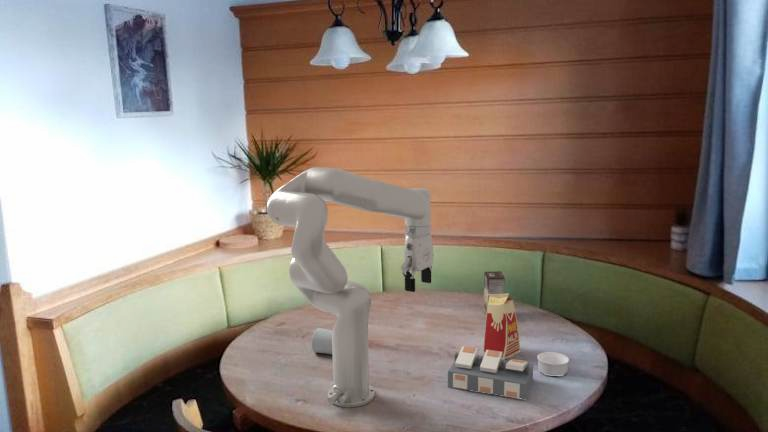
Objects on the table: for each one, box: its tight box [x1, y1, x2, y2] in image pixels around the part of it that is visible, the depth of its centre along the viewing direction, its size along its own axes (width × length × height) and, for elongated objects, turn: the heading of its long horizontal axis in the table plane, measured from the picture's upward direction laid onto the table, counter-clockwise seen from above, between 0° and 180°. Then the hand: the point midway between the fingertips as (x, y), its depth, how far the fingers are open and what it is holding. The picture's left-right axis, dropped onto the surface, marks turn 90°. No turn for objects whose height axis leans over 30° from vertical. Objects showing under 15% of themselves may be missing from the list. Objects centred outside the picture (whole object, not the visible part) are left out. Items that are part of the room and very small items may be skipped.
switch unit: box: [447, 352, 534, 399], centre depth 160 cm, size 13×21×7 cm, turn 67°
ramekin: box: [536, 351, 570, 375], centre depth 167 cm, size 9×9×4 cm
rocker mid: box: [480, 350, 502, 373], centre depth 159 cm, size 8×4×1 cm, turn 156°
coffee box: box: [483, 270, 506, 317], centre depth 212 cm, size 9×6×16 cm
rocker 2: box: [506, 358, 528, 371], centre depth 157 cm, size 8×4×1 cm, turn 157°
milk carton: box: [482, 292, 521, 360], centre depth 179 cm, size 9×9×20 cm
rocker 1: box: [454, 345, 479, 369], centre depth 162 cm, size 8×4×1 cm, turn 157°
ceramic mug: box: [311, 327, 333, 355], centre depth 184 cm, size 11×8×8 cm
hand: (418, 286), depth 171 cm, fingers open, 9 cm apart
